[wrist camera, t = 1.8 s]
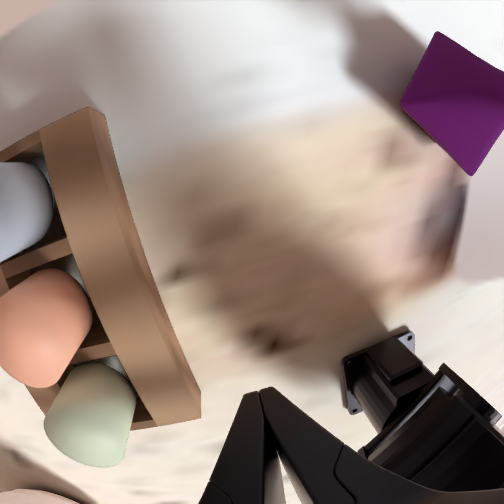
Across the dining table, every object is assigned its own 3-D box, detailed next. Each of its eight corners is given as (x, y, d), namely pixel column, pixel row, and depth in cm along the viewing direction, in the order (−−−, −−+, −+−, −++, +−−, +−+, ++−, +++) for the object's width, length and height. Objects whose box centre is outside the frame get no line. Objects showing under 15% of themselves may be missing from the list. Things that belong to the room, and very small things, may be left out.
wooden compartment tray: (200, 391, 22) (201, 418, 19) (71, 413, 21) (61, 436, 18) (104, 115, 17) (87, 106, 14) (-29, 184, 16) (-54, 188, 13)
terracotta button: (105, 335, 17) (81, 381, 13) (45, 349, 17) (14, 391, 12) (73, 257, 16) (33, 286, 11) (13, 280, 16) (-30, 309, 11)
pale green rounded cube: (148, 413, 19) (140, 465, 14) (90, 421, 19) (73, 468, 14) (116, 355, 18) (95, 405, 13) (55, 368, 17) (28, 412, 13)
